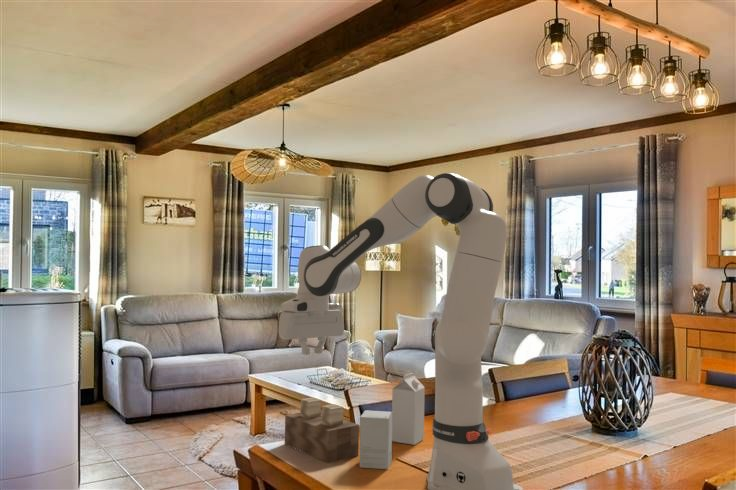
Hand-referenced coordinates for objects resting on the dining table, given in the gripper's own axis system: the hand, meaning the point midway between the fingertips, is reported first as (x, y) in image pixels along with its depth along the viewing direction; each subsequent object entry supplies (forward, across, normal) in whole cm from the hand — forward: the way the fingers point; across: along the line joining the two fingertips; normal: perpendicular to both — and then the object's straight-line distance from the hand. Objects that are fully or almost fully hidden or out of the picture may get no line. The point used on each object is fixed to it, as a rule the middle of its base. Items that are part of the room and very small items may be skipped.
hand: (312, 353), depth 170 cm
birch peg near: (+21, 0, +10) cm, 23 cm away
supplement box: (+25, -4, +23) cm, 34 cm away
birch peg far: (+21, 0, 0) cm, 21 cm away
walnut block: (+25, 0, +5) cm, 26 cm away
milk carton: (+25, -25, +13) cm, 38 cm away
